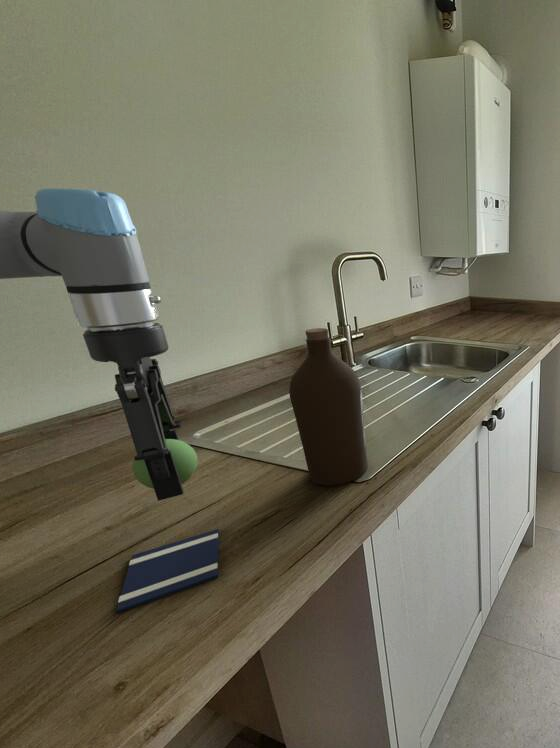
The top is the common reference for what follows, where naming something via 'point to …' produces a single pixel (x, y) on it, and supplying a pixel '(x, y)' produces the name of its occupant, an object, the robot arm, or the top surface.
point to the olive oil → (329, 413)
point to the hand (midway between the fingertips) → (173, 483)
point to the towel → (170, 569)
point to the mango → (182, 458)
